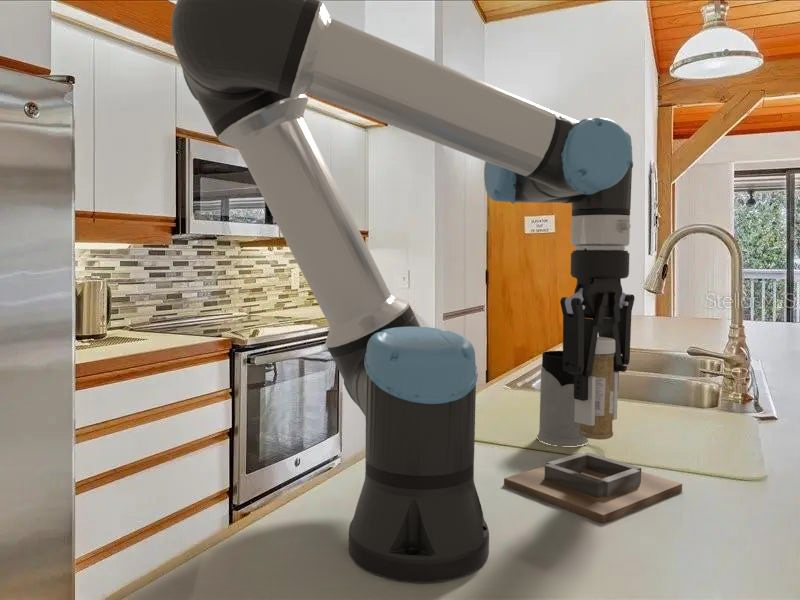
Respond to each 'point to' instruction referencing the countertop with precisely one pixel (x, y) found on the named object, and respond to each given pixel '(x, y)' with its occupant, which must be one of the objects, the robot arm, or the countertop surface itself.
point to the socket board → (593, 486)
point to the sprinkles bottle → (602, 391)
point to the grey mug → (557, 403)
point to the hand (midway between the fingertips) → (595, 420)
